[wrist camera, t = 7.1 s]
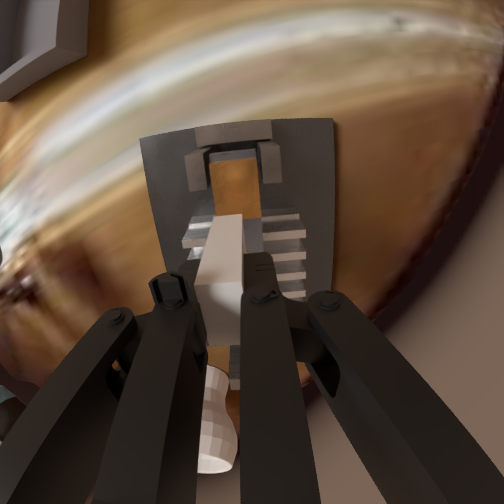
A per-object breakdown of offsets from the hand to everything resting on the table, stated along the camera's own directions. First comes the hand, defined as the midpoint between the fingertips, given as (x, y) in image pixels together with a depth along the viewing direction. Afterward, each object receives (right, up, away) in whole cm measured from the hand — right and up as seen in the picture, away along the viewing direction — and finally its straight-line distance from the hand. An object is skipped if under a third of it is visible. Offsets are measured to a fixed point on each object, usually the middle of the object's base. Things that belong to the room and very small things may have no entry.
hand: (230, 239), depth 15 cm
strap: (+1, -4, +9) cm, 9 cm away
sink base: (+1, 0, +14) cm, 14 cm away
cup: (-6, -21, +25) cm, 33 cm away
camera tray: (-24, +29, -1) cm, 38 cm away
